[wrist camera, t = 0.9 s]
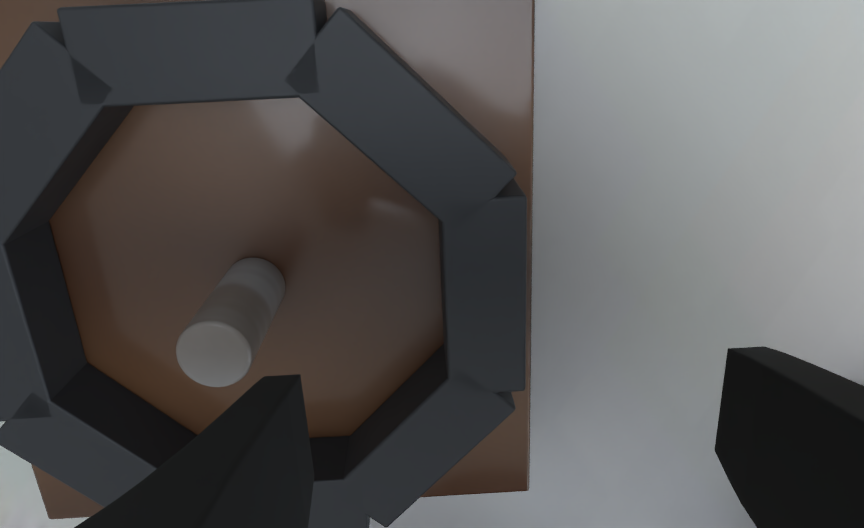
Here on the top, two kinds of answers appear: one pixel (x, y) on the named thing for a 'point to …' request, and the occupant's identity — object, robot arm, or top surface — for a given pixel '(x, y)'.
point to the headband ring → (234, 81)
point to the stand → (285, 241)
